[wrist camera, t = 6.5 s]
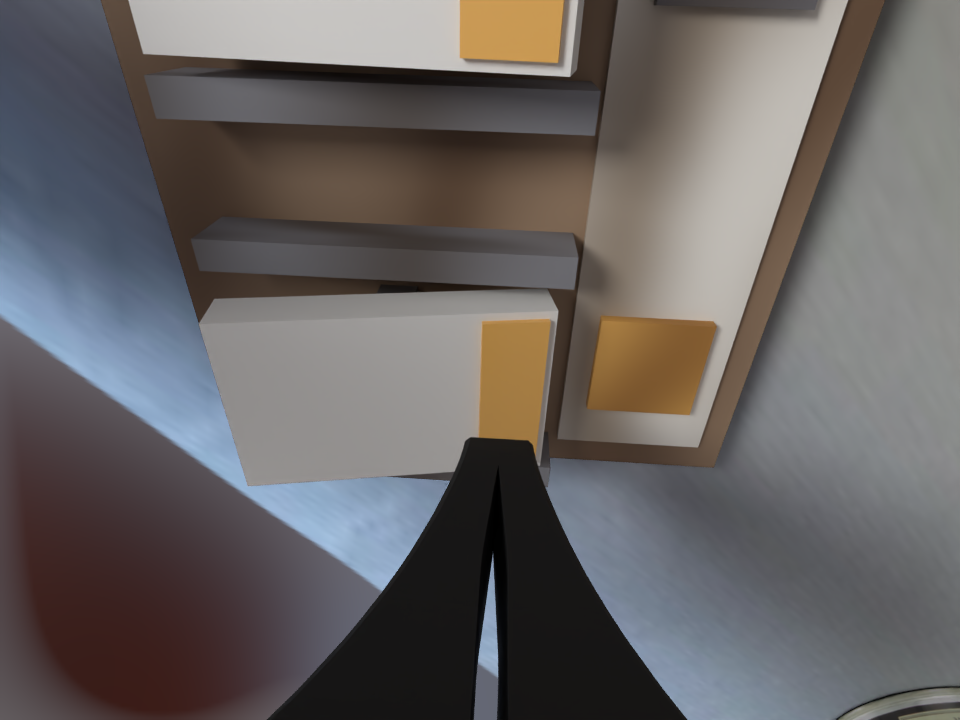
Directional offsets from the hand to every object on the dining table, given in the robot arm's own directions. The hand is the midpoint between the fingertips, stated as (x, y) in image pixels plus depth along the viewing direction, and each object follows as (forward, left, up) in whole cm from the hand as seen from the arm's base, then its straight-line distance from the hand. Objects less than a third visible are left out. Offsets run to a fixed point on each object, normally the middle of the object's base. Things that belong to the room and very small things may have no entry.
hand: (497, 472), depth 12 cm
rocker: (-3, 0, -3) cm, 4 cm away
